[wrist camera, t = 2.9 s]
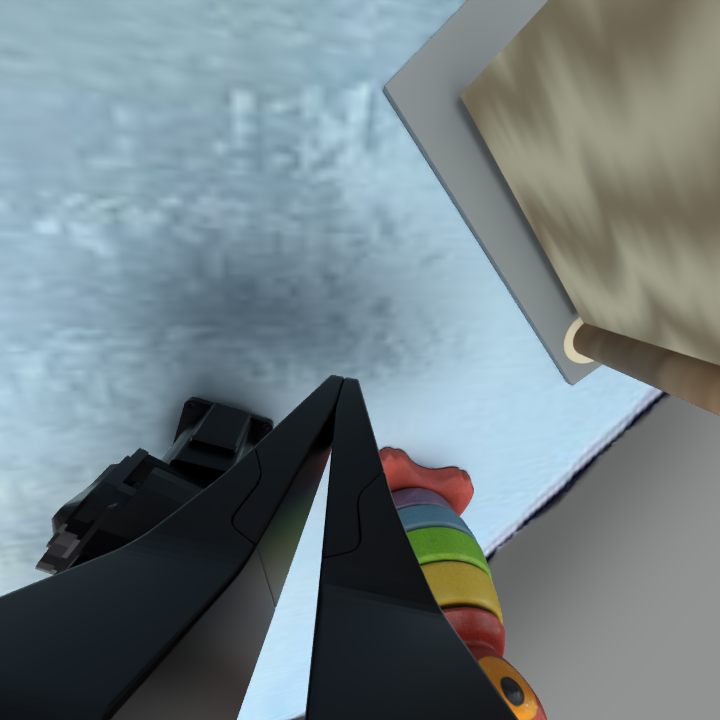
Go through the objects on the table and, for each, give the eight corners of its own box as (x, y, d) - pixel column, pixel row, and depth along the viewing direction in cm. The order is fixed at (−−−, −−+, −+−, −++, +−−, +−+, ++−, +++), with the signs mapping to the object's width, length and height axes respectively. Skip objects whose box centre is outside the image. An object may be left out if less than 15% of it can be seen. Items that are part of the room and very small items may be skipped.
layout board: (566, 382, 25) (573, 386, 25) (383, 90, 17) (385, 84, 16) (775, 231, 22) (789, 231, 22) (684, -221, 14) (702, -243, 13)
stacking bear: (477, 473, 28) (695, 802, 12) (426, 546, 31) (541, 890, 15) (375, 440, 25) (469, 809, 9) (329, 523, 28) (336, 914, 12)
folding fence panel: (598, 311, 21) (843, 374, 11) (583, 322, 21) (811, 394, 11) (478, 77, 15) (764, -227, 5) (459, 95, 16) (702, -166, 6)
